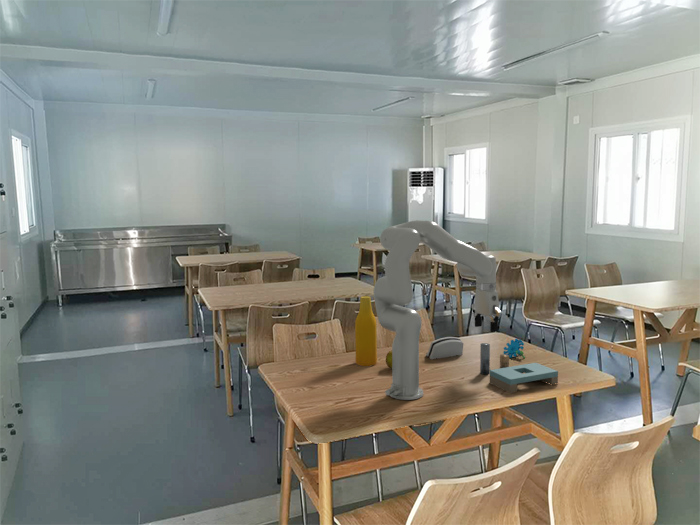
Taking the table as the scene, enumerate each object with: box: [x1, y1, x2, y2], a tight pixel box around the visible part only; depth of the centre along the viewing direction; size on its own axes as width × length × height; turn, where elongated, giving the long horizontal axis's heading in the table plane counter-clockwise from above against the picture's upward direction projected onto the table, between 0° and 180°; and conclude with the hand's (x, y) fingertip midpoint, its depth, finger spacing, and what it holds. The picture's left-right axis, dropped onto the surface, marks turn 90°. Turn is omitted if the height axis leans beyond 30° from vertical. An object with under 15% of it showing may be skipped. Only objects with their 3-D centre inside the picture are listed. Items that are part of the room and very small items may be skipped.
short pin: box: [499, 353, 510, 369], centre depth 222 cm, size 4×4×6 cm
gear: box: [502, 338, 526, 359], centre depth 241 cm, size 11×6×10 cm
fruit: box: [385, 349, 392, 370], centre depth 225 cm, size 10×9×8 cm
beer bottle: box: [354, 295, 378, 367], centre depth 233 cm, size 9×9×29 cm
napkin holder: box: [425, 336, 464, 360], centre depth 242 cm, size 17×5×10 cm, turn 113°
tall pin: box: [479, 342, 491, 376], centre depth 218 cm, size 4×4×12 cm
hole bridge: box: [489, 362, 559, 394], centre depth 205 cm, size 22×12×5 cm, turn 113°
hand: (486, 328), depth 216 cm, fingers open, 9 cm apart
